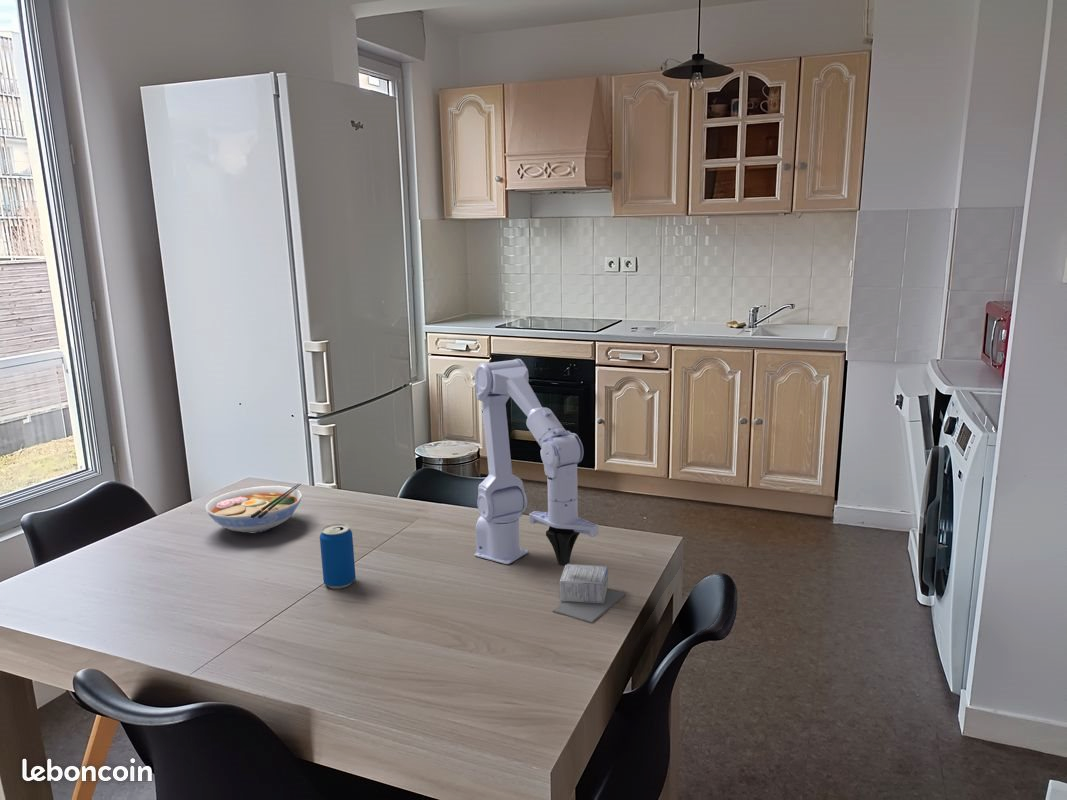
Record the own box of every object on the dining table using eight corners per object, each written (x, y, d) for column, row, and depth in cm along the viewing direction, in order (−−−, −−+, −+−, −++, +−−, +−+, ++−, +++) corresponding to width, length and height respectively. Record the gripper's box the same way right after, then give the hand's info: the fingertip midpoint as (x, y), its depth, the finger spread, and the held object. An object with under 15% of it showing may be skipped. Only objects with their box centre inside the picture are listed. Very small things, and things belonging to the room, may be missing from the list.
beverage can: (362, 579, 161) (358, 525, 158) (342, 592, 155) (337, 536, 152) (337, 574, 163) (333, 521, 161) (317, 587, 158) (312, 532, 155)
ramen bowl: (240, 509, 205) (236, 480, 203) (321, 511, 202) (318, 482, 200) (186, 546, 181) (182, 513, 179) (277, 549, 177) (274, 516, 176)
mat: (553, 611, 145) (552, 610, 145) (587, 585, 155) (587, 584, 155) (591, 623, 140) (591, 621, 140) (624, 595, 150) (624, 593, 150)
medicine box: (559, 601, 148) (603, 604, 146) (558, 580, 147) (603, 583, 145) (565, 583, 156) (608, 586, 154) (565, 563, 155) (608, 565, 153)
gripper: (606, 497, 146) (606, 564, 148) (542, 485, 154) (543, 548, 156) (587, 508, 140) (588, 577, 143) (522, 495, 148) (524, 561, 151)
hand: (563, 563), depth 149 cm, fingers closed
